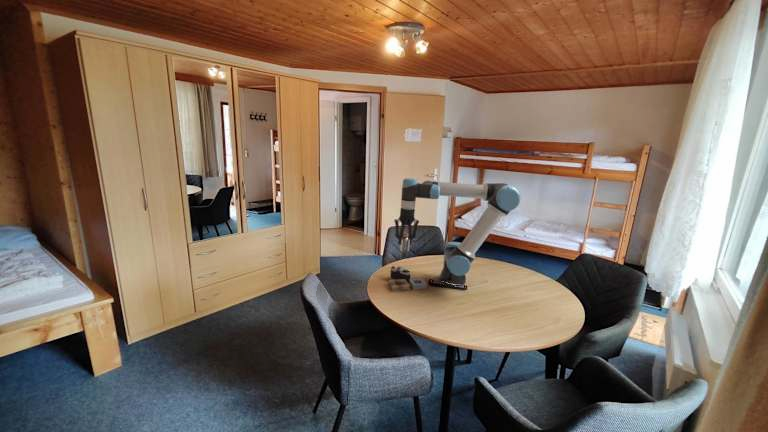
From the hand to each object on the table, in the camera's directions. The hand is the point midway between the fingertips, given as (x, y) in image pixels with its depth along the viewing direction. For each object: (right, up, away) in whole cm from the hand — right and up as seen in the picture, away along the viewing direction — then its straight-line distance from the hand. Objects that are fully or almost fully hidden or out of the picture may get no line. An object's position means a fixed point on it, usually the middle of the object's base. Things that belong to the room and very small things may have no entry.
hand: (404, 250), depth 178 cm
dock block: (-3, -21, +4) cm, 22 cm away
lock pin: (0, -4, +1) cm, 4 cm away
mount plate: (+8, -21, +6) cm, 23 cm away
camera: (-1, -19, +15) cm, 24 cm away
